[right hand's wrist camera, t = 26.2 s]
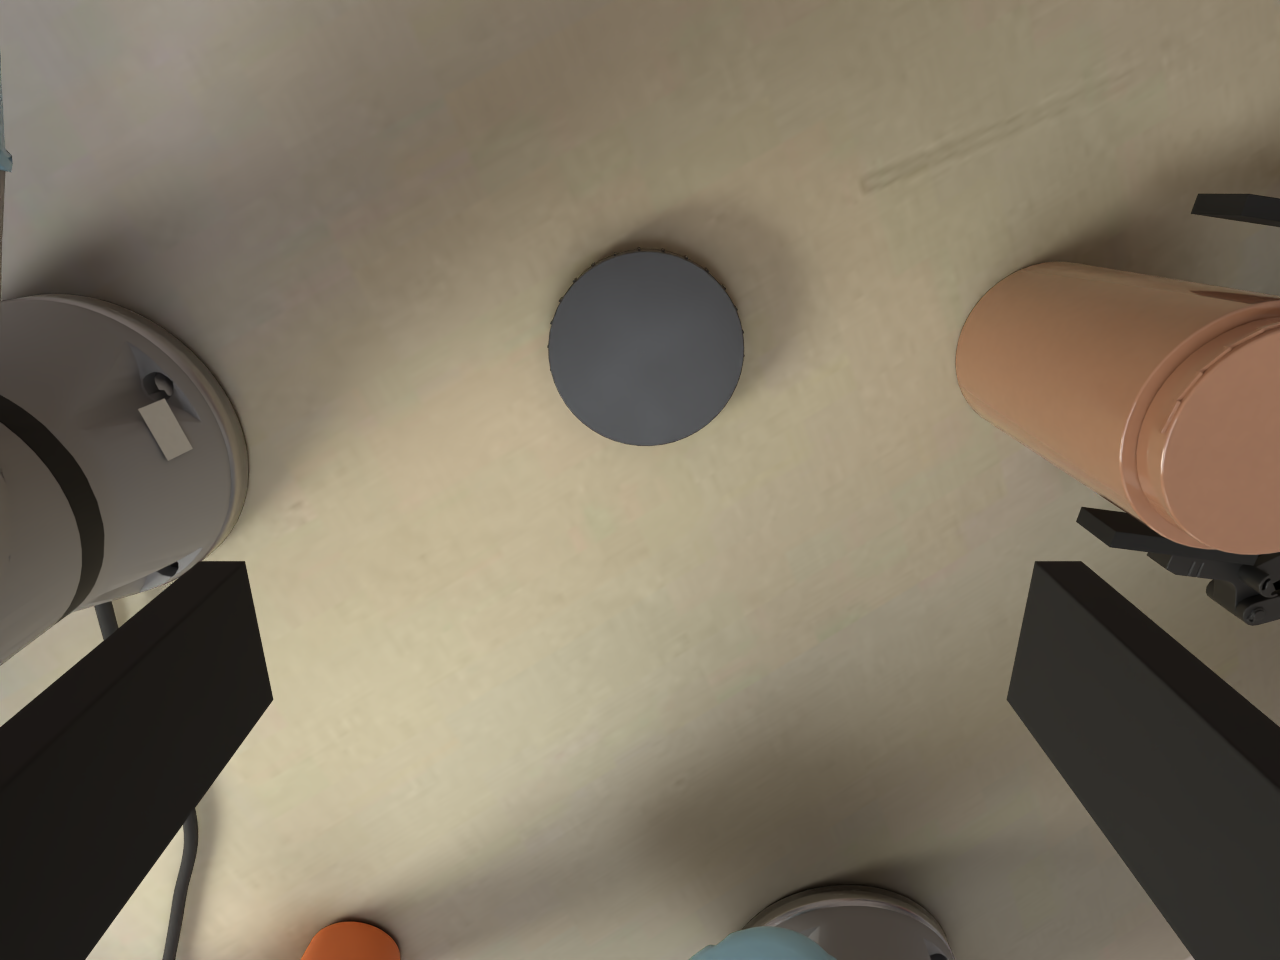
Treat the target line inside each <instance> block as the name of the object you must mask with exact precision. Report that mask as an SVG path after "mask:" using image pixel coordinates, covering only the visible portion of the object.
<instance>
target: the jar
mask: <svg viewBox="0 0 1280 960" xmlns="http://www.w3.org/2000/svg"><path fill="white" fill-rule="evenodd" d="M956 373H957V378H958V383H959V386H960V389H961V391H962V394H963V395H964V397H965V399H966V401H967V402H968V404H969V405H970V406H971V407H972V409H973V410H974V411H975V412H976V413H977V414H978V415H979V416H981V417H982V418H983V419H985V420H986V421H988V422H989V423H991V424H992V425H994V426H995V427H997V428H998V429H1000V430H1002V431H1003V432H1005V433H1006V434H1008V435H1009V436H1011V437H1012V438H1014V439H1015V440H1017V441H1018V442H1020V443H1021V444H1023V445H1024V446H1026V447H1027V448H1029V449H1030V450H1032V451H1033V452H1035V453H1036V454H1038V455H1040V456H1041V457H1043V458H1044V459H1046V460H1047V461H1049V462H1050V463H1052V464H1053V465H1055V466H1056V467H1058V468H1059V469H1061V470H1062V471H1064V472H1065V473H1067V474H1068V475H1070V476H1071V477H1073V478H1074V479H1076V480H1078V481H1079V482H1081V483H1082V484H1084V485H1085V486H1087V487H1088V488H1090V489H1091V490H1093V491H1094V492H1096V493H1097V494H1099V495H1100V496H1102V497H1103V498H1105V499H1106V500H1108V501H1109V502H1111V503H1112V504H1114V505H1116V506H1117V507H1119V508H1120V509H1122V510H1123V511H1125V512H1126V513H1128V514H1129V515H1131V516H1132V517H1134V518H1135V519H1137V520H1138V521H1140V522H1141V523H1143V524H1144V525H1146V526H1147V527H1149V528H1150V529H1152V530H1154V531H1155V532H1157V533H1158V534H1160V535H1161V536H1163V537H1165V538H1167V539H1169V540H1171V541H1173V542H1176V543H1179V544H1182V545H1186V546H1189V547H1195V548H1201V549H1217V550H1220V551H1223V552H1228V553H1235V554H1248V555H1258V554H1270V553H1276V552H1280V296H1276V295H1270V294H1264V293H1258V292H1251V291H1245V290H1239V289H1233V288H1227V287H1220V286H1214V285H1208V284H1202V283H1196V282H1190V281H1183V280H1177V279H1171V278H1165V277H1159V276H1152V275H1146V274H1140V273H1134V272H1128V271H1121V270H1115V269H1109V268H1103V267H1097V266H1091V265H1084V264H1078V263H1072V262H1060V261H1055V262H1045V263H1040V264H1036V265H1032V266H1029V267H1026V268H1023V269H1021V270H1019V271H1017V272H1015V273H1013V274H1011V275H1009V276H1007V277H1006V278H1004V279H1003V280H1001V281H1000V282H998V283H997V284H996V285H995V286H994V287H992V288H991V289H990V290H989V291H988V292H987V293H986V294H985V295H984V296H983V297H982V298H981V299H980V300H979V302H978V303H977V304H976V306H975V307H974V308H973V310H972V311H971V313H970V315H969V316H968V318H967V320H966V322H965V324H964V327H963V329H962V331H961V334H960V338H959V341H958V346H957V351H956Z"/></svg>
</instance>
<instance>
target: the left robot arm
mask: <svg viewBox="0 0 1280 960" xmlns="http://www.w3.org/2000/svg"><path fill="white" fill-rule="evenodd" d="M1191 214H1197V215H1203V216H1210V217H1216V218H1223V219H1230V220H1236V221H1243V222H1250V223H1256V224H1263V225H1269V226H1276V227H1280V199H1279V198H1272V197H1266V196H1259V195H1253V194H1198V196H1197V198H1196V201H1195V204H1194V207H1193V209H1192V212H1191ZM1076 522H1077V523H1079V524H1080V525H1081V526H1083V527H1084V528H1085V529H1087V530H1088V531H1089V532H1091V533H1092V534H1093V535H1095V536H1096V537H1097V538H1098V539H1100V540H1101V541H1102V542H1104V543H1105V544H1106V545H1108V546H1109V547H1113V548H1121V549H1128V550H1136V551H1144V552H1148V554H1147V556H1149V557H1150V558H1152V559H1153V560H1154V561H1156V562H1157V563H1159V564H1160V565H1161V566H1163V567H1164V568H1166V569H1167V570H1169V571H1170V572H1172V573H1174V574H1175V575H1183V576H1191V577H1199V578H1207V579H1213V580H1212V581H1211V582H1210V583H1209V584H1208V586H1207V588H1206V593H1207V595H1208V596H1209V597H1210V598H1211V599H1213V600H1214V601H1216V602H1217V603H1218V604H1220V605H1221V606H1223V607H1224V608H1225V609H1227V610H1228V611H1230V612H1231V613H1232V614H1234V615H1235V616H1237V617H1238V618H1239V619H1241V620H1242V621H1244V622H1245V623H1247V624H1248V625H1252V626H1253V625H1259V624H1263V623H1267V622H1271V621H1274V620H1278V619H1280V552H1276V553H1270V554H1258V555H1248V554H1235V553H1228V552H1223V551H1220V550H1217V549H1201V548H1195V547H1189V546H1186V545H1182V544H1179V543H1176V542H1173V541H1171V540H1169V539H1167V538H1165V537H1163V536H1161V535H1160V534H1158V533H1157V532H1155V531H1154V530H1152V529H1150V528H1149V527H1147V526H1146V525H1144V524H1143V523H1141V522H1140V521H1138V520H1137V519H1135V518H1134V517H1132V516H1131V515H1129V514H1128V513H1125V512H1117V511H1109V510H1102V509H1094V508H1086V507H1082V508H1081V510H1080V513H1079V516H1078V518H1077V521H1076ZM689 960H955V958H954V956H953V953H952V951H951V948H950V946H949V943H948V941H947V939H946V936H945V934H944V932H943V930H942V928H941V926H940V925H939V924H938V922H937V921H936V919H935V918H934V917H933V916H932V915H931V914H930V913H929V912H928V911H927V910H925V909H924V908H923V907H922V906H920V905H919V904H917V903H916V902H914V901H912V900H910V899H908V898H907V897H904V896H902V895H900V894H897V893H894V892H891V891H888V890H885V889H880V888H876V887H869V886H861V885H835V886H826V887H819V888H815V889H810V890H806V891H803V892H800V893H796V894H794V895H791V896H788V897H786V898H784V899H782V900H780V901H778V902H776V903H774V904H772V905H770V906H769V907H767V908H766V909H764V910H763V911H761V912H760V913H758V914H757V915H756V916H755V917H754V918H753V919H751V920H750V921H749V922H748V923H747V924H746V925H745V926H744V928H743V929H742V930H740V931H736V932H734V933H731V934H729V935H728V936H727V937H726V938H725V939H724V940H722V941H721V942H720V943H719V944H717V945H708V946H706V947H705V948H703V949H702V950H700V951H699V952H698V953H696V954H695V955H694V956H692V957H691V958H690V959H689Z"/></svg>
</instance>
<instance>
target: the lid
mask: <svg viewBox="0 0 1280 960" xmlns="http://www.w3.org/2000/svg"><path fill="white" fill-rule="evenodd" d="M708 272H709V270H708V269H707V268H705V269H704V268H702V267H701V266H699V265H698V264H696V263H695V262H693V261H691V260H690V259H688V257H687V256H684V257H683V256H681V255H678V254H675V253H671V252H668V251H665V250H664V249H663V248H662V250H656V249H640V247H638V249H637V250H629V251H625V252H621V253H616V252H614V254H613V255H612V256H610V257H607V258H605V259H603V260H601V261H599V262H598V263H596V264H595V262H594V263H593V264H592V265H591V267H590V268H589V269H588V270H586V271H585V272H584V273H583V274H582V275H581V276H580V277H579V278H578V279H577V278H575V279H574V280H573V282H574V283H573V284H572V286H571V287H570V288H569V290H568V291H567V293H566V294H565V295H564V297H561V299H560V300H559V302H560V304H559V306H558V308H557V310H556V313H555V315H554V318H553V320H552V321H551V323H550V324H552V325H551V329H550V334H549V344H548V351H549V363H550V371H551V373H552V376H553V380H554V383H555V385H556V387H557V390H558V392H559V394H560V396H561V397H562V399H563V401H564V402H565V404H566V405H567V407H568V408H569V409H570V410H571V412H572V413H573V414H574V415H575V416H576V417H577V418H578V419H579V420H580V421H581V422H582V423H583V424H585V425H586V426H587V427H589V428H590V429H592V430H593V431H595V432H597V433H598V434H600V435H602V436H604V437H606V438H609V439H611V440H614V441H617V442H620V443H624V444H629V445H637V446H655V445H663V444H667V443H671V442H675V441H678V440H681V439H683V438H686V437H688V436H690V435H692V434H694V433H696V432H697V431H699V430H700V429H702V428H703V427H705V426H706V425H707V424H708V423H710V422H711V421H712V420H713V419H714V418H715V417H716V416H717V415H718V414H719V413H720V412H721V410H722V409H723V408H724V407H725V405H726V404H727V402H728V401H729V399H730V398H731V396H732V394H733V392H734V390H735V388H736V386H737V383H738V380H739V377H740V374H741V370H742V365H743V358H744V340H743V333H744V331H743V330H742V327H741V322H740V319H739V317H738V314H737V308H736V307H735V305H733V303H732V301H731V299H730V297H729V296H728V294H727V293H726V292H725V289H726V288H725V287H724V286H723V285H720V284H719V283H718V282H717V281H716V280H715V278H714V277H713V276H712V275H711V274H710V273H708Z"/></svg>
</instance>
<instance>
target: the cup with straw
mask: <svg viewBox="0 0 1280 960" xmlns="http://www.w3.org/2000/svg"><path fill="white" fill-rule="evenodd" d="M301 960H400V952H399V949H398V947H397V945H396V943H395V942H394V940H393V939H392V938H391V937H390V936H389V935H388V934H386V933H385V932H384V931H382V930H380V929H378V928H376V927H374V926H372V925H369V924H365V923H360V922H339V923H335V924H332V925H329V926H327V927H325V928H323V929H322V930H320V931H319V932H318V933H317V934H316V935H315V936H314V937H313V939H312V940H311V942H310V944H309V946H308V947H307V949H306V951H305V953H304V954H303V956H302V958H301Z"/></svg>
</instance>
